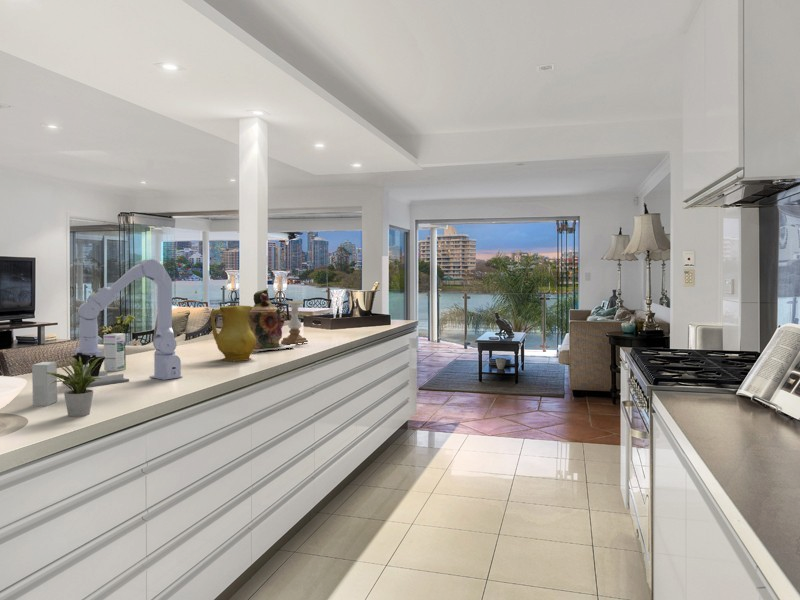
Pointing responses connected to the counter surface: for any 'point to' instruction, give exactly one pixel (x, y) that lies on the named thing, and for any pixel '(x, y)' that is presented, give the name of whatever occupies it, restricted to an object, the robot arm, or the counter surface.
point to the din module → (86, 370)
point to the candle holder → (294, 325)
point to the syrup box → (114, 352)
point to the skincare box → (44, 383)
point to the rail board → (106, 379)
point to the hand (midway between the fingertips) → (88, 375)
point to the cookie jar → (266, 323)
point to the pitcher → (234, 333)
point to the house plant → (78, 388)
